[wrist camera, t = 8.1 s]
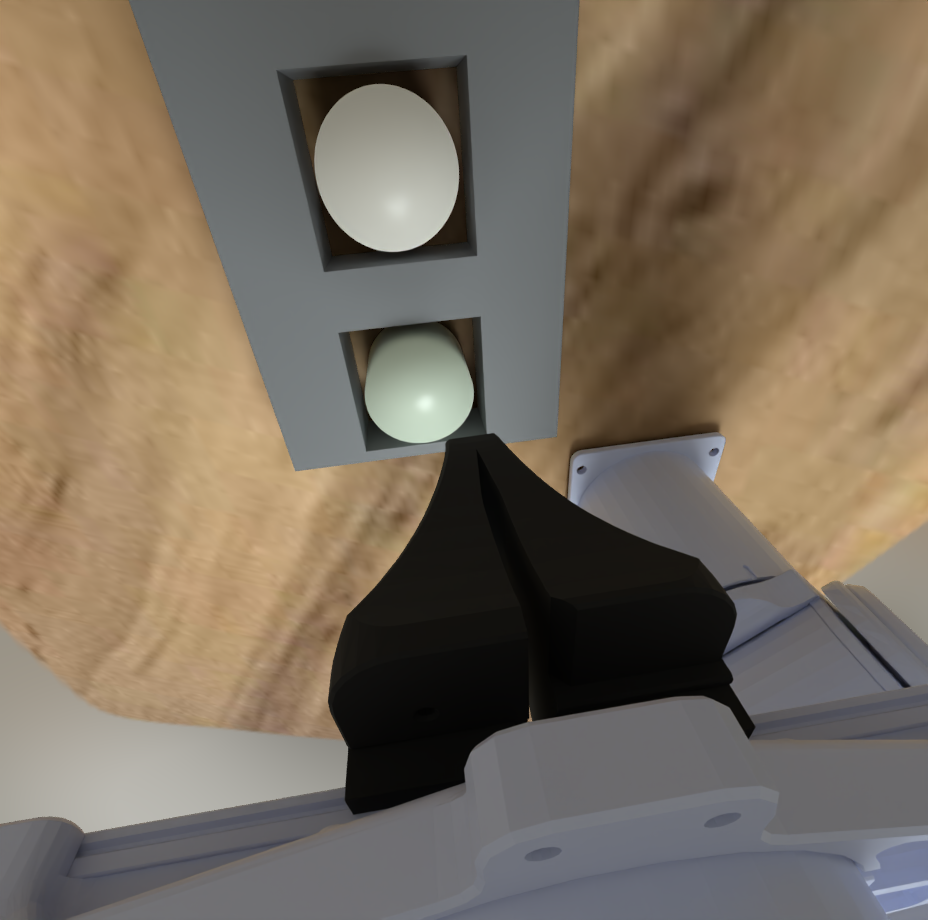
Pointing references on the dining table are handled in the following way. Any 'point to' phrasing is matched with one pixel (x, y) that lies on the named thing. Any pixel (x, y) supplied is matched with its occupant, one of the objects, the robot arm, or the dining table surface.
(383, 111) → the white rounded piece
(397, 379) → the pale green egg
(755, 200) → the dining table surface
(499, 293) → the button panel
